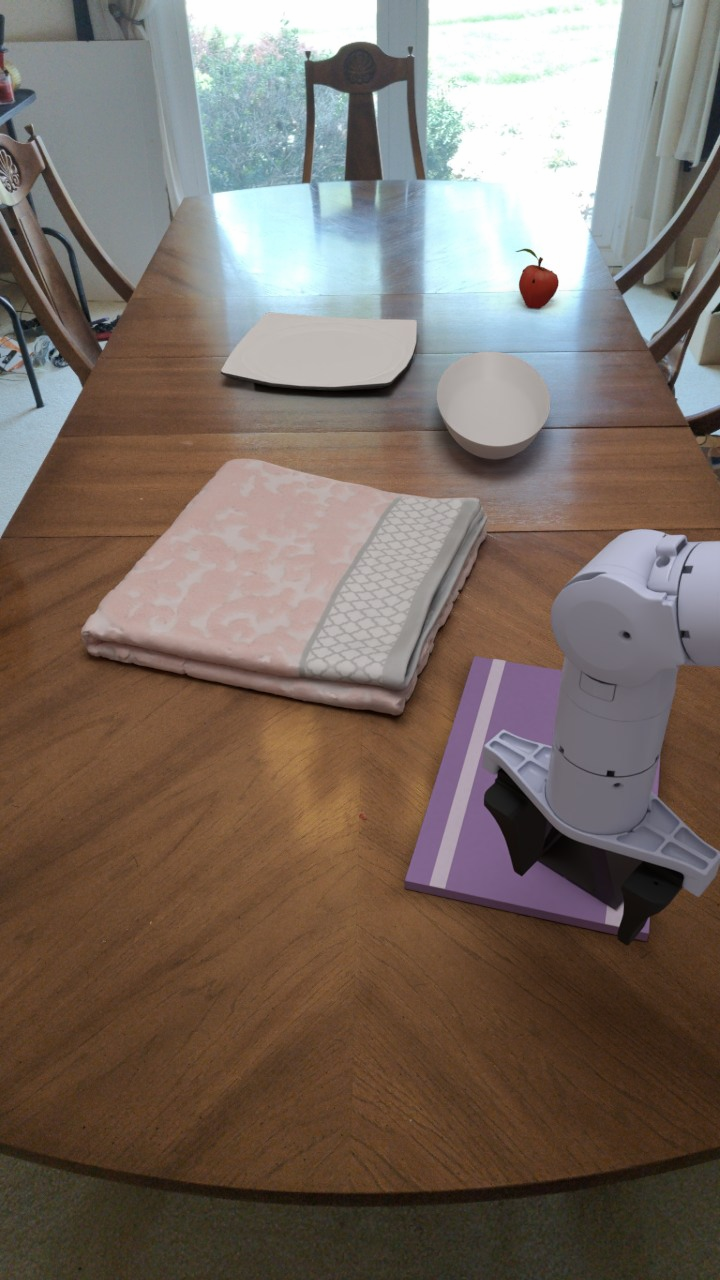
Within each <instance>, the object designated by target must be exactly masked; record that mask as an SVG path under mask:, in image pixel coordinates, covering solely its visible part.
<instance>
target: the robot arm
mask: <svg viewBox="0 0 720 1280" xmlns="http://www.w3.org/2000/svg"><path fill="white" fill-rule="evenodd" d="M550 627H551V631H552V634H553V637H554V640H555V642H556V644H557V646H558V648H559V649H560V651H561V652H562V653H563V655H564V656H563V657H564V658H563V664H562V667H561V670H562V674H561V682H560V689H559V696H558V703H557V710H556V717H555V724H554V731H553V740H552V746H548V745H545V744H541V743H537V742H533V741H530V740H527V739H523V738H521V737H518V736H516V735H513V734H511V733H510V732H508V731H506V730H502V731H500V732H499V733H498V734H497V735H496V736H495V737H493V738H492V739H491V740H490V741H489V742H488V743H486V744H485V745H484V752H483V764H482V768H484V769H485V770H487V771H489V772H490V773H492V774H498V775H497V778H496V779H495V783H494V784H493V785H492V786H491V787H489V788H488V789H487V790H486V792H485V794H484V806H485V807H486V808H487V809H488V811H489V812H490V813H491V814H492V816H493V817H494V819H495V820H496V822H497V824H498V825H499V827H500V829H501V831H502V834H503V836H504V838H505V841H506V844H507V847H508V850H509V854H510V858H511V862H512V866H513V869H514V872H515V873H517V874H518V875H520V876H523V875H524V874H525V873H526V872H527V871H528V870H529V869H530V868H531V867H532V866H533V865H534V864H535V863H536V862H537V861H538V860H539V859H540V856H541V853H542V850H543V847H544V841H545V834H546V827H547V820H548V821H549V822H550V823H551V824H552V825H553V826H554V827H555V828H556V829H557V830H559V831H560V832H561V833H562V834H564V835H566V836H567V837H569V838H571V839H573V840H576V841H579V842H581V843H585V844H588V845H591V846H595V847H598V848H602V849H605V850H608V851H612V852H615V853H619V854H622V855H625V856H629V857H632V858H636V859H639V860H642V861H643V862H642V863H641V864H639V866H638V867H637V868H636V869H635V870H634V871H633V872H632V873H631V875H630V876H629V877H628V878H627V879H626V880H625V881H624V883H623V884H622V886H621V890H622V893H623V899H624V909H623V916H622V920H621V923H620V926H619V929H618V935H616V937H617V941H619V942H620V943H622V944H623V945H624V946H630V945H631V944H632V943H633V941H634V940H635V939H634V938H635V937H636V936H637V935H638V934H639V932H640V931H641V930H642V929H643V928H644V926H645V924H646V922H647V920H648V918H649V917H650V918H651V917H653V916H655V915H657V914H660V913H661V912H662V911H663V910H665V909H666V908H667V907H668V906H669V905H670V904H671V903H672V901H673V900H674V899H675V897H677V895H678V894H679V893H680V892H681V890H682V889H684V890H685V891H687V892H688V893H690V894H691V895H694V896H695V897H697V898H700V897H701V896H702V894H704V892H705V891H706V890H707V889H708V887H709V886H710V884H711V883H712V882H713V880H714V879H715V878H716V876H717V874H718V871H719V867H720V850H718V849H716V847H713V846H712V845H711V844H708V843H707V842H706V841H705V840H704V839H702V838H701V837H700V836H698V835H697V834H696V832H694V831H693V830H692V829H691V828H690V827H689V826H688V825H687V824H686V823H685V822H684V821H683V820H682V819H681V818H680V817H679V816H678V815H677V814H676V813H675V812H674V811H673V810H672V809H671V808H670V807H669V806H668V805H667V804H666V803H664V801H662V799H660V797H659V796H658V797H657V796H656V795H655V794H654V793H653V792H652V787H653V783H654V779H655V775H656V770H657V766H658V762H659V758H660V759H661V756H660V753H661V752H662V748H663V743H664V740H665V735H666V731H667V727H668V722H669V719H670V715H671V714H670V713H671V710H672V705H673V702H674V697H675V694H676V690H677V677H678V672H679V669H680V667H681V666H690V667H691V666H695V667H709V668H711V667H712V668H720V540H709V541H708V540H707V541H688V538H687V535H685V534H668V533H665V532H663V531H659V530H656V529H655V530H654V529H649V528H639V529H638V528H637V529H632V530H628V531H625V532H622V533H621V534H619V535H617V536H616V537H615V538H614V539H612V540H610V542H609V543H608V544H607V545H605V546H604V548H602V549H601V550H600V551H599V552H598V553H597V554H596V555H595V556H594V557H593V558H591V560H590V561H589V562H588V563H587V564H586V565H585V566H583V567H582V568H581V569H580V570H579V571H578V572H577V573H576V574H575V575H573V577H572V578H571V579H570V580H569V581H567V583H566V584H565V585H564V586H563V588H562V589H561V591H560V592H559V593H558V594H557V595H556V597H555V599H554V601H553V603H552V605H551V611H550ZM661 754H662V753H661Z"/></svg>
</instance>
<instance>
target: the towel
mask: <svg viewBox="0 0 720 1280" xmlns="http://www.w3.org/2000/svg"><path fill="white" fill-rule="evenodd" d="M480 503H481V499H480V498H477V497H471V496H470V497H442V498H438V497H437V498H436V497H428V496H422V495H415V494H407V493H400V492H399V493H397V492H393V491H392V492H391V491H386V490H381V489H378V488H375V487H372V486H368V485H364V484H359V483H354V482H348V481H342V480H338V479H333V478H329V477H325V476H321V475H317V474H312V473H309V472H305V471H299V470H296V469H292V468H288V467H285V466H281V465H278V464H275V463H272V462H268V461H266V460H265V461H264V460H262V459H261V460H260V459H255V458H254V459H253V458H234V459H231V460H228V461H226V462H225V463H224V464H223V465H221V467H220V468H218V470H217V471H215V472H214V476H213V477H212V478H211V479H209V480H208V481H207V483H205V485H204V486H203V487H202V488H201V489H200V490H199V492H198V494H195V496H194V497H192V499H191V500H190V501H189V502H188V504H187V505H186V506H185V508H184V509H183V510H182V511H181V512H179V515H178V516H177V517H176V518H175V519H174V521H173V523H172V524H171V525H170V527H168V529H167V530H165V532H163V533H162V535H160V537H159V538H158V539H156V540H155V542H154V543H153V544H152V545H151V547H149V548H148V550H147V551H145V553H144V555H142V557H141V558H140V559H139V560H137V561H135V564H134V565H133V567H132V568H131V569H130V571H128V573H127V574H126V575H125V576H124V578H123V580H121V581H120V582H119V583H118V584H117V585H116V586H115V587H114V589H111V590H110V591H108V592H107V594H106V595H105V596H104V597H103V598H102V599H101V601H100V602H99V603H98V604H97V609H96V610H95V612H94V613H92V614H90V615H89V617H88V618H87V619H86V621H85V623H84V625H83V626H82V627H81V631H80V634H81V637H82V638H81V641H82V644H83V647H84V648H85V649H86V650H87V653H88V654H90V655H91V656H94V657H102V658H106V659H109V660H112V661H116V662H117V661H118V662H122V663H126V664H135V665H138V666H142V667H148V668H153V669H157V670H161V671H167V672H172V673H176V674H179V675H187V676H189V677H192V678H195V679H200V680H203V681H204V680H205V681H210V682H217V683H221V684H224V685H230V686H233V687H240V688H243V689H251V690H255V691H258V692H264V693H267V694H274V695H278V696H281V697H282V696H283V697H287V698H292V699H295V700H301V701H303V702H312V703H317V704H324V705H329V706H333V707H338V708H339V707H340V708H345V709H352V710H369V711H372V712H377V713H383V714H389V715H392V716H400V715H402V713H403V712H404V710H405V707H406V702H408V701H409V700H410V698H411V697H412V695H413V693H414V691H415V688H416V685H417V682H418V676H419V675H421V673H422V672H423V670H424V668H425V666H426V665H427V663H428V661H429V657H430V654H431V653H432V652H433V650H434V646H435V643H434V641H435V638H436V635H437V633H438V630H439V629H440V628H441V627H442V626H445V623H446V622H447V619H448V617H449V616H450V614H451V611H452V610H453V607H454V602H455V601H456V599H457V598H458V596H459V595H460V592H459V591H461V590H462V589H463V587H464V585H465V582H466V578H467V577H469V576H470V573H471V571H472V569H473V565H474V564H475V562H476V561H477V557H478V552H479V548H480V545H481V544H482V543H484V540H485V539H486V537H487V535H488V532H487V527H488V526H487V522H488V519H489V516H488V515H486V514H484V507H483V506H481V504H480Z"/></svg>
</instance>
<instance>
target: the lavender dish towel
mask: <svg viewBox="0 0 720 1280" xmlns="http://www.w3.org/2000/svg"><path fill="white" fill-rule="evenodd" d="M561 674H562V669H555V668H549V667H545V666H537V665H532V664H531V665H530V664H525V663H518V662H511V661H507V660H504V659H497V658H488V657H481V656H476V655H475V656H473V659H472V662H471V665H470V669H469V672H468V674H467V677H466V681H465V684H464V688H463V691H462V695H461V697H460V701H459V704H458V707H457V710H456V714H455V716H454V721H453V722H452V727H451V730H450V733H449V736H448V740H447V742H446V746H445V749H444V752H443V756H442V759H441V761H440V766H439V768H438V772H437V775H436V778H435V782H434V784H433V787H432V791H431V795H430V798H429V801H428V804H427V807H426V809H425V813H424V817H423V820H422V824H421V827H420V829H419V833H418V836H417V839H416V844H415V846H414V850H413V853H412V855H411V859H410V863H409V866H408V869H407V872H406V875H405V879H404V889H406V890H410V891H414V892H419V893H422V894H423V893H424V894H428V895H432V896H437V897H442V898H446V899H451V900H456V901H461V902H464V903H465V902H466V903H468V904H474V905H478V906H484V907H487V908H492V909H497V910H501V911H506V912H510V913H515V914H519V915H524V916H527V917H528V916H529V917H533V918H537V919H541V920H542V919H543V920H547V921H551V922H556V923H561V924H565V925H569V926H574V927H578V928H583V929H587V930H592V931H596V932H601V933H605V934H609V935H610V934H611V935H615V936H617V935H618V929H619V926H620V923H621V920H622V916H623V909H624V901H623V902H622V903H621V905H620V906H619V907H618V908H617V909H613V908H611V907H609V906H608V905H606V904H605V903H603V902H601V901H600V900H598V899H597V898H595V897H594V896H592V895H590V894H589V893H587V892H586V891H584V890H582V889H581V888H579V887H578V886H576V885H575V884H573V883H571V882H570V881H568V880H567V878H566V877H565V876H563V877H562V876H560V875H559V874H557V873H556V872H554V871H552V870H551V869H549V868H548V867H546V866H545V865H543V864H541V863H540V862H538V861H537V862H536V863H535V864H534V865H533V866H532V867H531V868H530V869H529V870H528V871H527V872H526V873H525V874H524V875H523V876H520V875H518V874H517V873H515V872H514V869H513V866H512V862H511V858H510V854H509V850H508V847H507V844H506V841H505V838H504V836H503V834H502V831H501V829H500V827H499V825H498V824H497V822H496V820H495V819H494V817H493V816H492V814H491V813H490V812H489V811H488V809H487V808H486V807H485V806H484V794H485V792H486V790H487V789H488V788H489V787H491V786H492V785H493V784H494V783H495V779H496V778H497V775H498V774H492V773H490V772H489V771H487V770H485V769H484V768H482V764H483V752H484V745H485V744H486V743H488V742H489V741H490V740H491V739H492V738H493V737H495V736H496V735H497V734H498V733H499V732H500V731H502V730H506V731H508V732H510V733H511V734H513V735H516V736H518V737H521V738H523V739H527V740H530V741H533V742H537V743H541V744H545V745H548V746H552V740H553V731H554V724H555V717H556V710H557V703H558V696H559V689H560V682H561ZM661 755H662V753H660V758H659V762H658V766H657V770H656V775H655V779H654V783H653V787H652V792H653V793H654V794H655V795H656V796H657V797H658V798H659V787H660V786H659V785H660V783H659V782H660V772H661V771H660V770H661ZM650 925H651V917H649V918H648V920H647V922H646V924H645V926H644V928H643V929H642V930H641V931H640V932H639V934H638V935H637V936H636V937H635V938H634V940H638V941H642V942H648V939H649V935H650Z"/></svg>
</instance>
